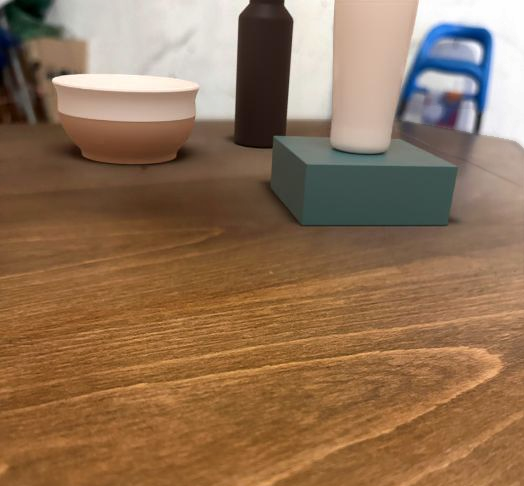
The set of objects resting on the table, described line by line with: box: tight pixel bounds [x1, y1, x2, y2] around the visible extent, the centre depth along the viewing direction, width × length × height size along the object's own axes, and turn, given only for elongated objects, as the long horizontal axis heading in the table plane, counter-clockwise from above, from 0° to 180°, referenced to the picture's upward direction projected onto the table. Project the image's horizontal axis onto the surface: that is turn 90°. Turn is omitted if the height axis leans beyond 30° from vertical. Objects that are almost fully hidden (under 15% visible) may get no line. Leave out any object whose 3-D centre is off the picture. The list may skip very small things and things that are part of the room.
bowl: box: [51, 73, 201, 165], centre depth 75 cm, size 16×16×8 cm
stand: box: [269, 135, 459, 226], centre depth 61 cm, size 13×13×5 cm
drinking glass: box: [329, 0, 420, 154], centre depth 56 cm, size 7×7×15 cm
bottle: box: [233, 0, 295, 149], centre depth 84 cm, size 7×7×20 cm
